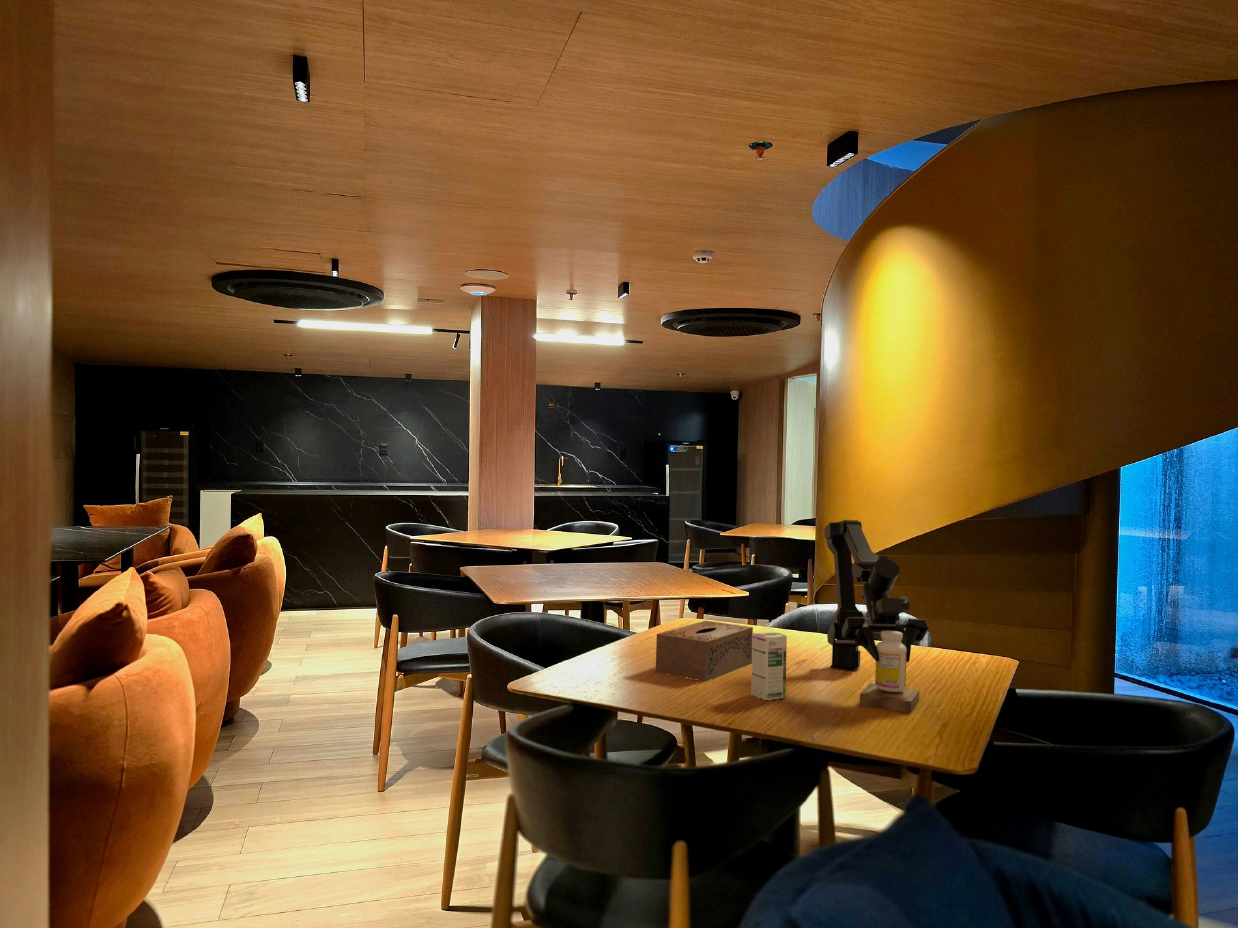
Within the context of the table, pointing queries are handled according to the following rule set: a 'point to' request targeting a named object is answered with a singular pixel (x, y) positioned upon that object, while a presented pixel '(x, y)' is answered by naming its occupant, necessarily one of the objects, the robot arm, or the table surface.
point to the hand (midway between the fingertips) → (892, 660)
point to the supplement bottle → (891, 662)
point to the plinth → (889, 699)
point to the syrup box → (769, 665)
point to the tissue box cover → (704, 650)
